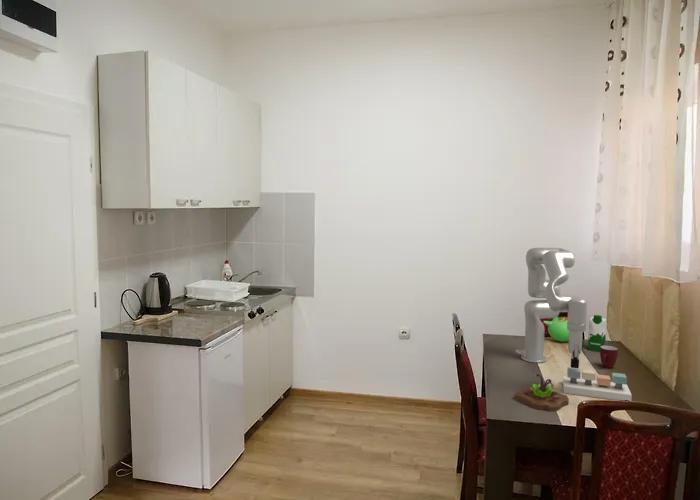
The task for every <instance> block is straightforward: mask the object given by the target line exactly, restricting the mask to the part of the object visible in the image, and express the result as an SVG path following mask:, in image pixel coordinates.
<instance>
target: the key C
mask: <svg viewBox="0 0 700 500" xmlns="http://www.w3.org/2000/svg"><path fill="white" fill-rule="evenodd" d="M595 380H596V381H597V384H598V385H600V387H606V388H607V386H611V382H612V378H611V377H610V375H606V374H599V373H598V374H596V378H595Z"/></svg>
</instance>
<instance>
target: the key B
mask: <svg viewBox="0 0 700 500" xmlns="http://www.w3.org/2000/svg"><path fill="white" fill-rule="evenodd" d="M581 378H582V379H585V385H591V382H592V380H593V381H595V380H596V378H597V374H596V371H595V369H593V370H592V369H584V368H582V369H581Z"/></svg>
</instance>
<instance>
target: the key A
mask: <svg viewBox="0 0 700 500" xmlns="http://www.w3.org/2000/svg"><path fill="white" fill-rule="evenodd" d="M566 371H567V373H566V374H567V376H568V377H569V378H570V383H575V384H576V381H577V379H580V378H581V368H571V367H569V366H568V367H567V370H566Z"/></svg>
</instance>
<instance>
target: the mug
mask: <svg viewBox="0 0 700 500" xmlns="http://www.w3.org/2000/svg"><path fill="white" fill-rule="evenodd" d="M599 355H600V362H601V365H602V366H603V368H607V369H612V368H613V367H614V365H616V362H617V359H618V355H619V347H615V346H614V345H613V346H611V345H605V346H600V352H599Z"/></svg>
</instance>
